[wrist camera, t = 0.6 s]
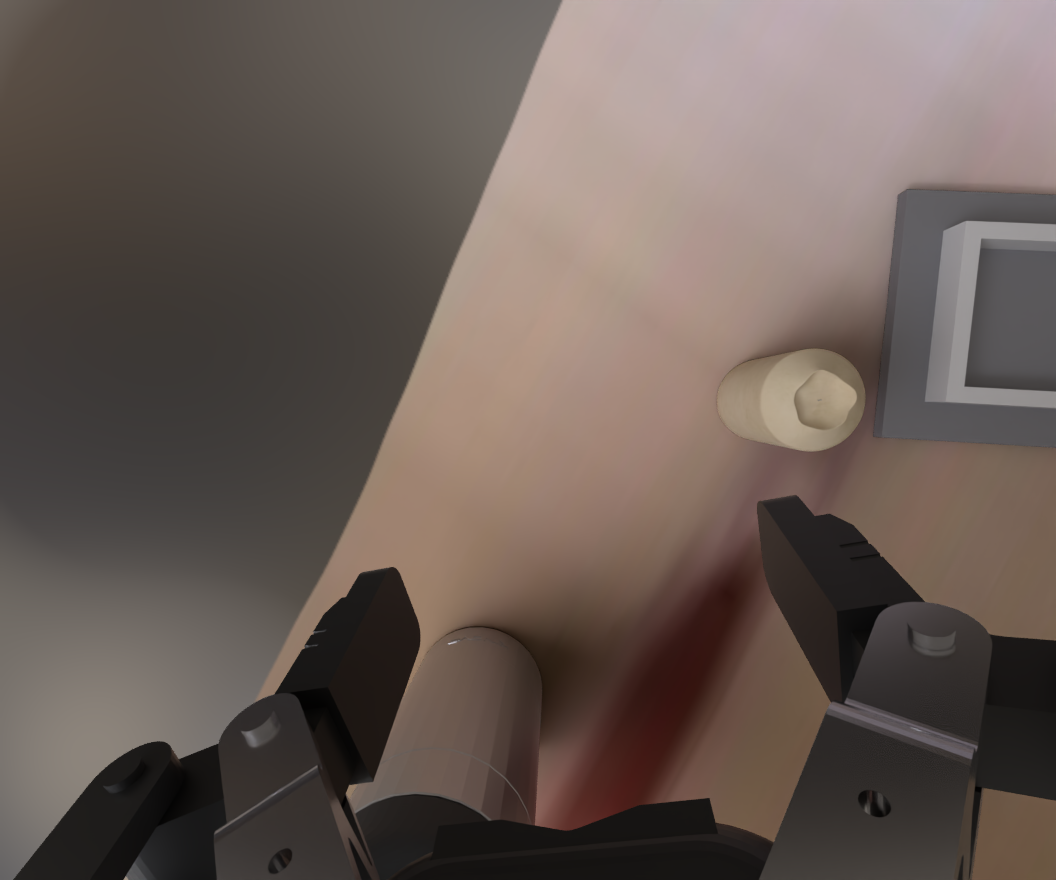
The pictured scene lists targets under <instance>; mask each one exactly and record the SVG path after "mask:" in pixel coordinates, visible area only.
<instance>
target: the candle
mask: <svg viewBox="0 0 1056 880" xmlns="http://www.w3.org/2000/svg"><path fill="white" fill-rule="evenodd" d="M717 408H718V412H719V415H720V417H721V420H722V421H723V423H724V424H725V425H726V426H727V428H728V429H730V430H731V431H732V432H733V433H735V434H736V435H738V436H740V437H742V438H745V439H748V440H753V441H757V442H762V443H767V444H772V445H777V446H781V447H786V448H791V449H796V450H801V451H821V450H825V449H828V448H831V447H833V446H836V445H838V444H839V443H841V442H842V441H844V440H845V439H846V438H847V437H849V435H850V434H851V433H852V432H853V431H854V430H855V428H856V427H857V426H858V424H859V422H860V420H861V418H862V415H863V412H864V408H865V389H864V384H863V381H862V379H861V377H860V374H859V373H858V371H857V370H856V368H855V367H854V366H853V365H852V364H851V363H850V362H849V361H848V360H847V359H846V358H844V357H843V356H841V355H839V354H837V353H835V352H832V351H829V350H825V349H817V348H812V349H804V350H799V351H794V352H789V353H784V354H779V355H774V356H770V357H765V358H760V359H755V360H751V361H747V362H744V363H742V364H740V365H738V366H737V367H735V368H734V369H733V370H731V371H730V372H729V373H728V374H727V375H726V376H725V378H724V379H723V381H722V383H721V385H720V387H719V390H718V394H717Z"/></svg>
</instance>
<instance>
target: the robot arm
mask: <svg viewBox="0 0 1056 880" xmlns="http://www.w3.org/2000/svg"><path fill="white" fill-rule="evenodd" d="M757 514H758V523H759V532H760V541H761V550H762V559H763V567H764V572H765V576H766V580H767V583H768V586H769V588H770V591H771V593H772V595H773V597H774V599H775V601H776V603H777V604H778V606H779V608H780V610H781V612H782V614H783V615H784V617H785V619H786V621H787V623H788V625H789V626H790V628H791V630H792V632H793V634H794V636H795V637H796V639H797V641H798V643H799V645H800V647H801V648H802V650H803V652H804V654H805V656H806V658H807V659H808V661H809V663H810V665H811V667H812V669H813V670H814V672H815V674H816V676H817V678H818V679H819V681H820V683H821V685H822V687H823V689H824V690H825V692H826V694H827V696H828V698H829V700H830V701H831V704H830V705H829V707H828V709H827V711H826V713H825V716H824V718H823V721H822V723H821V726H820V728H819V731H818V733H817V736H816V738H815V741H814V743H813V746H812V748H811V751H810V753H809V756H808V758H807V761H806V763H805V766H804V768H803V771H802V773H801V776H800V778H799V781H798V783H797V786H796V788H795V791H794V793H793V796H792V798H791V801H790V803H789V806H788V808H787V811H786V813H785V816H784V818H783V821H782V823H781V826H780V828H779V831H778V833H777V836H776V838H775V841H774V843H773V842H772V841H770V840H768V839H766V838H764V837H761V836H759V835H757V834H754V833H752V832H749V831H747V830H743V829H740V828H736V827H733V826H729V825H724V824H719V823H715V819H714V815H713V811H712V807H711V803H710V799H709V798H706V799H696V800H686V801H677V802H667V803H657V804H647V805H639V806H636V807H633V808H631V809H628V810H625V811H623V812H620V813H617V814H615V815H612V816H609V817H607V818H604V819H601V820H599V821H596V822H593V823H591V824H588V825H585V826H583V827H580V828H577V829H574V830H569V831H564V830H557V829H551V828H546V827H540V826H535V812H536V794H537V776H538V759H539V741H540V726H541V707H542V682H541V675H540V672H539V670H538V667H537V664H536V662H535V661H534V659H533V658H532V656H531V654H530V653H529V651H528V650H527V649H526V648H525V647H524V646H523V645H522V644H521V643H520V642H518V641H517V640H515V639H514V638H512V637H511V636H509V635H508V634H505V633H503V632H500V631H498V630H495V629H490V628H484V627H469V628H465V629H461V630H457V631H454V632H452V633H450V634H448V635H446V636H444V637H443V638H442V639H440V640H439V641H438V642H437V643H435V644H434V645H433V646H432V648H431V649H430V650H429V651H428V653H427V654H426V656H425V657H424V659H423V661H422V663H421V665H420V667H419V669H418V671H417V672H416V674H415V676H414V678H413V680H412V682H411V683H410V685H409V687H408V689H407V691H406V693H405V695H404V696H403V694H404V692H405V689H406V686H407V683H408V680H409V677H410V674H411V671H412V668H413V665H414V663H415V660H416V657H417V654H418V651H419V647H420V628H419V623H418V620H417V617H416V614H415V612H414V609H413V607H412V604H411V601H410V599H409V596H408V594H407V591H406V588H405V586H404V583H403V580H402V578H401V575H400V573H399V572H398V570H397V569H396V568H394V567H390V568H384V569H378V570H373V571H367V572H362V573H361V574H359V576H358V577H357V579H356V581H355V582H354V584H353V586H352V588H351V589H350V591H349V593H348V594H347V596H346V597H344V598H341V599H340V600H339V601H338V602H337V603H336V604H334V605H333V606H332V607H331V608H330V609H329V610H328V611H327V612H326V613H325V614H324V615H323V617H322V618H321V620H320V622H319V623H318V625H317V626H316V628H315V630H314V631H313V632H314V634H313V635H311V636H310V638H309V639H308V641H307V643H306V644H305V649H302V651H301V652H300V654H299V656H298V657H297V659H296V660H295V662H294V664H293V665H292V667H291V669H290V670H289V672H288V673H287V675H286V677H285V678H284V680H283V681H282V683H281V685H280V686H279V688H278V690H277V691H276V693H275V694H274V695H271V696H268V697H265V698H263V699H261V700H259V701H257V702H255V703H253V704H252V705H250V706H249V707H247V708H246V709H244V710H243V711H242V712H241V713H239V714H238V715H237V716H236V717H235V718H234V719H233V720H232V721H231V722H230V723H229V725H228V726H227V727H226V729H225V730H224V732H223V734H222V735H221V738H220V740H219V744H216V745H214V746H211V747H209V748H206V749H204V750H201V751H199V752H196V753H193V754H191V755H189V756H186V757H184V758H181V759H178V758H177V756H176V754H175V753H174V751H173V750H172V748H171V747H170V745H169V744H167V743H165V742H160V741H159V742H158V741H157V742H151V743H147V744H144V745H142V746H139V747H137V748H135V749H132V750H131V751H129V752H127V753H126V754H124V755H122V756H121V757H119V758H118V759H116V760H115V761H114V762H112V763H111V764H109V765H108V766H107V767H106V768H105V769H104V770H103V771H101V772H100V773H99V775H97V776H96V777H95V778H94V780H93V781H92V782H91V783H90V784H89V785H88V787H87V788H86V789H85V790H84V792H83V793H82V794H81V795H80V797H79V798H78V799H77V800H76V802H75V803H74V804H73V805H72V807H71V808H70V809H69V811H68V812H67V813H66V814H65V815H64V817H63V818H62V819H61V821H60V822H59V823H58V824H57V825H56V827H55V828H54V829H53V831H52V832H51V833H50V834H49V836H48V837H47V838H46V839H45V841H44V842H43V843H42V844H41V846H40V847H39V848H38V849H37V851H36V852H35V853H34V854H33V856H32V857H31V858H30V859H29V861H28V862H27V863H26V864H25V866H24V867H23V868H22V869H21V871H20V872H19V873H18V874H17V876H16V877H15V878H14V879H13V880H123V879H124V878H125V876H126V877H127V878H128V879H129V880H972V874H973V866H974V859H975V851H976V844H977V836H978V828H979V821H980V813H981V806H982V798H983V790H984V788H988V789H994V790H999V791H1005V792H1011V793H1016V794H1022V795H1028V796H1033V797H1039V798H1045V799H1050V800H1056V641H1053V640H1040V639H1028V638H1015V637H1004V636H995V635H990V634H989V633H988V632H987V630H986V629H985V628H984V627H983V626H982V625H981V624H980V623H979V622H977V621H976V620H975V619H974V618H972V617H970V616H969V615H967V614H965V613H963V612H961V611H959V610H956V609H953V608H950V607H948V606H944V605H940V604H935V603H929V602H925V601H924V600H923V599H922V598H921V597H920V596H919V595H918V594H917V593H916V592H915V591H914V590H913V589H912V587H911V586H910V585H909V584H908V583H907V582H906V581H905V580H904V579H903V578H902V577H901V576H900V575H899V574H898V572H897V571H896V570H895V569H894V568H893V567H892V566H891V565H890V564H889V563H888V562H887V561H886V560H885V559H884V558H883V557H881V556H880V553H879V552H878V551H877V550H876V549H875V548H874V547H873V546H872V545H871V544H868V540H867V539H866V538H865V537H864V536H863V535H862V534H861V533H860V532H859V531H858V530H857V529H856V528H855V527H854V525H852V524H850V523H848V522H846V521H844V520H842V519H840V518H838V517H835V516H833V515H831V514H826V515H820V516H814V515H813V514H812V512H811V511H810V510H809V509H808V508H807V507H806V505H805V504H804V503H803V502H802V501H801V499H800V498H799V497H798V496H796V495H792V496H787V497H781V498H775V499H770V500H764V501H759V502H758V504H757ZM402 697H403V698H402ZM352 784H357V786H356V788H355V790H354V792H353V794H352V796H351V798H350V800H349V799H348V797H347V795H346V791H347V789H348V786H349V785H352Z"/></svg>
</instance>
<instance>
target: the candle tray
mask: <svg viewBox="0 0 1056 880" xmlns="http://www.w3.org/2000/svg"><path fill="white" fill-rule="evenodd" d="M873 436H874V437H884V438H901V439H918V440H935V441H952V442H969V443H986V444H1003V445H1020V446H1036V447H1053V448H1056V195H1046V194H1020V193H993V192H966V191H939V190H913V189H907V190H906V191H904V192H902V193H901V194H899V195H898V202H897V212H896V221H895V231H894V241H893V250H892V260H891V270H890V279H889V289H888V299H887V308H886V318H885V328H884V337H883V347H882V357H881V366H880V376H879V386H878V395H877V405H876V415H875V424H874V434H873Z"/></svg>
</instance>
